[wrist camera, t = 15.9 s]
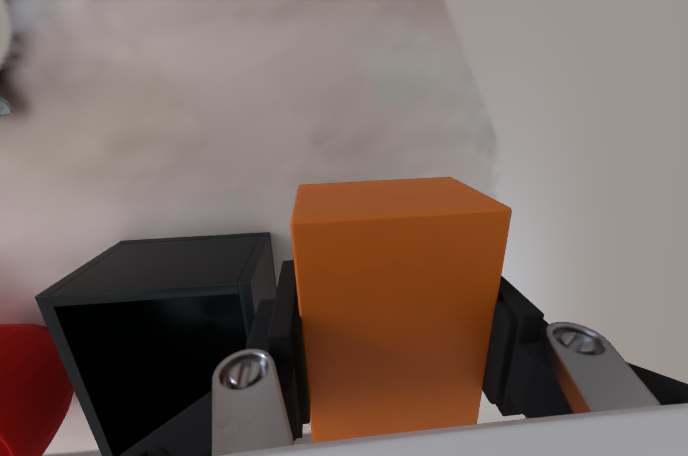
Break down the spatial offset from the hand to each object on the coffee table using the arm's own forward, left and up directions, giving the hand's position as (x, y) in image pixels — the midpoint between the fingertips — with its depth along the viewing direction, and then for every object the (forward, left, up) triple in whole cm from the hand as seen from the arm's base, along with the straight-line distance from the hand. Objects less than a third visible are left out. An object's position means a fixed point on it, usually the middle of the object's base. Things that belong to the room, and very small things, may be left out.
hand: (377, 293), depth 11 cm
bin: (+11, -13, -17) cm, 24 cm away
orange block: (0, 0, -1) cm, 1 cm away
